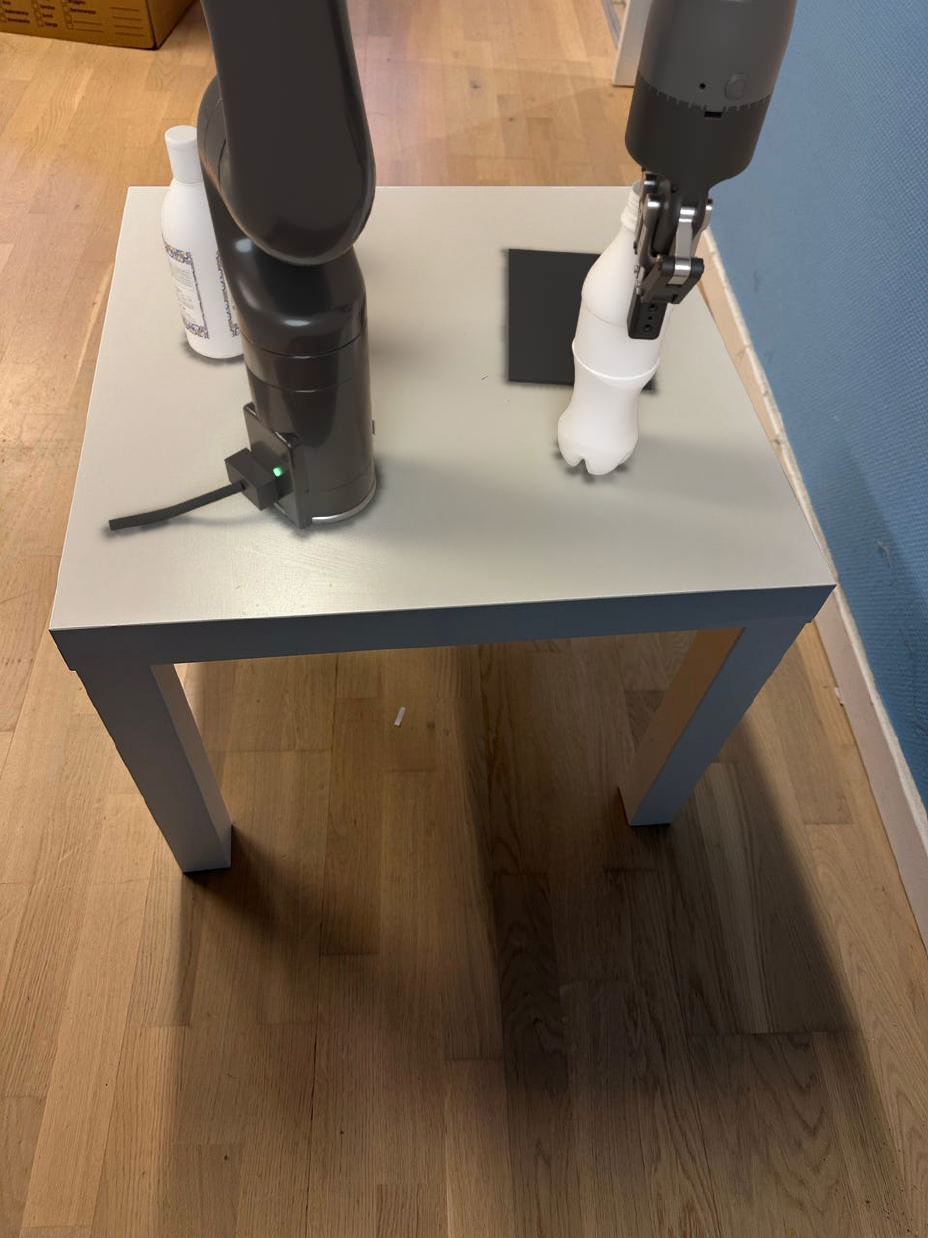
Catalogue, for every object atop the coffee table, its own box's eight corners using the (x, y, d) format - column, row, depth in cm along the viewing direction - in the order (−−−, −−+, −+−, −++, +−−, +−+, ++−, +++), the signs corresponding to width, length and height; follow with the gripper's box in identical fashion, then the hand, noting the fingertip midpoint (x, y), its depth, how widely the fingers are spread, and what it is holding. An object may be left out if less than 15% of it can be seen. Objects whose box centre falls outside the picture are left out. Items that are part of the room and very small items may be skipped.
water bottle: (540, 464, 81) (584, 198, 60) (572, 417, 85) (623, 152, 64) (613, 493, 79) (684, 230, 59) (643, 444, 83) (718, 181, 63)
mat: (651, 389, 88) (651, 386, 87) (508, 381, 87) (509, 378, 87) (632, 259, 100) (633, 256, 100) (508, 251, 100) (508, 248, 100)
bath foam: (258, 314, 91) (225, 110, 75) (260, 358, 87) (226, 153, 71) (188, 318, 90) (140, 113, 74) (187, 363, 86) (136, 156, 70)
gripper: (630, 11, 52) (584, 274, 67) (650, 122, 45) (593, 392, 59) (757, 19, 53) (684, 280, 67) (798, 131, 45) (706, 399, 59)
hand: (641, 333), depth 63 cm, fingers closed
